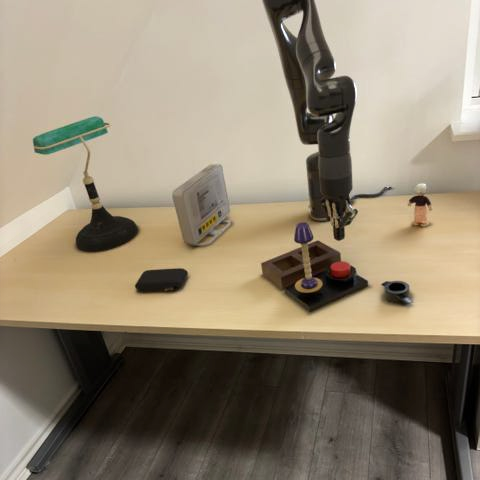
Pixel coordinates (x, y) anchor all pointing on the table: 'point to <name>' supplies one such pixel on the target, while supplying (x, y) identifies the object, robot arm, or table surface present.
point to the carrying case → (161, 279)
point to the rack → (299, 264)
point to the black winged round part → (397, 292)
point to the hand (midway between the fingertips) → (339, 238)
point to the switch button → (340, 269)
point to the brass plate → (300, 289)
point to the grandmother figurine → (420, 205)
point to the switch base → (327, 289)
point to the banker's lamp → (89, 187)
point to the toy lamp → (305, 253)
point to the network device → (202, 205)
